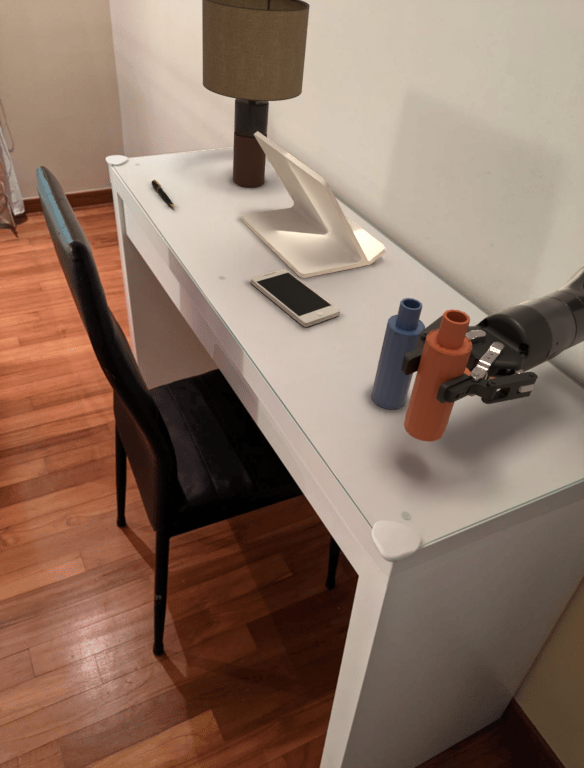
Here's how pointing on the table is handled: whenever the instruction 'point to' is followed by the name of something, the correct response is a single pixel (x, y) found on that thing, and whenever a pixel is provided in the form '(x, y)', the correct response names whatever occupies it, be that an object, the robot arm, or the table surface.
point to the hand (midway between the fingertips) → (422, 380)
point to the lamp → (253, 68)
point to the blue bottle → (397, 355)
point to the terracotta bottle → (438, 376)
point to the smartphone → (295, 297)
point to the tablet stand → (310, 222)
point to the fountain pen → (162, 192)
